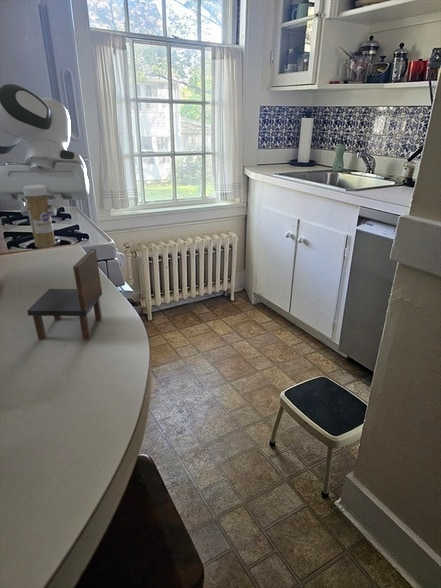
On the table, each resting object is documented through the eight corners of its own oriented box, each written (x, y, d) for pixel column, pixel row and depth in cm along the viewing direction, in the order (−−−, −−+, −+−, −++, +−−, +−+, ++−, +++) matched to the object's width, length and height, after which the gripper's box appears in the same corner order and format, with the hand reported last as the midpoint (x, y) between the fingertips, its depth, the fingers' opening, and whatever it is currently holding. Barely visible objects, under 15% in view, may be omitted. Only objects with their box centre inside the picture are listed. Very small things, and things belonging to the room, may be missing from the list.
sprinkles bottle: (46, 249, 87) (34, 188, 82) (30, 247, 89) (17, 186, 83) (60, 243, 91) (50, 184, 86) (45, 241, 93) (34, 183, 87)
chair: (34, 340, 69) (16, 266, 63) (55, 316, 77) (41, 248, 71) (90, 341, 68) (77, 266, 62) (105, 317, 77) (95, 248, 71)
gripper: (-7, 153, 88) (-18, 206, 83) (86, 153, 89) (80, 206, 84) (6, 171, 94) (-3, 222, 89) (93, 171, 95) (88, 221, 90)
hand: (38, 214), depth 86 cm, fingers closed on sprinkles bottle, 4 cm apart
